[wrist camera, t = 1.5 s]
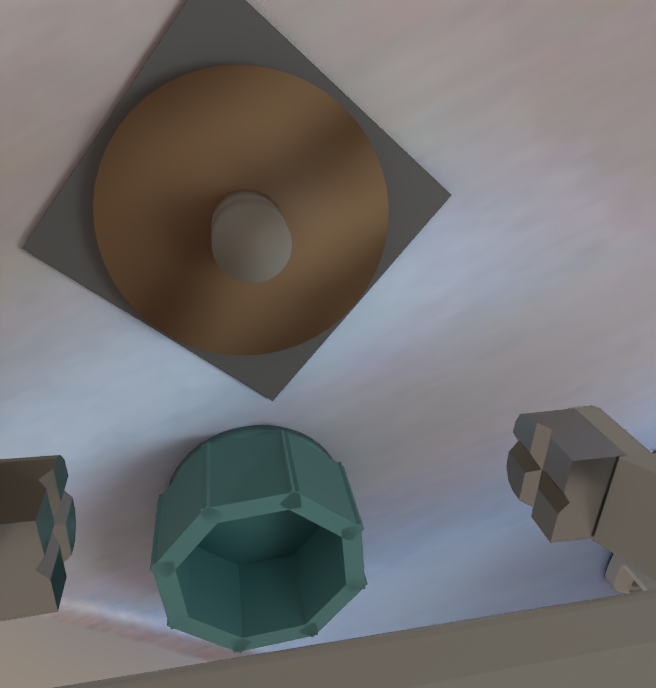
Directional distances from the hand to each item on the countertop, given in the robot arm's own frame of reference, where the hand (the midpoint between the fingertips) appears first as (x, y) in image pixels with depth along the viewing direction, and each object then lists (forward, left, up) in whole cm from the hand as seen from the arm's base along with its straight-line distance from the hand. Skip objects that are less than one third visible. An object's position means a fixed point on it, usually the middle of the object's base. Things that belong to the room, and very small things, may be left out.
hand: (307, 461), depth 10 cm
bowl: (-11, +13, -19) cm, 25 cm away
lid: (0, 0, -19) cm, 19 cm away
